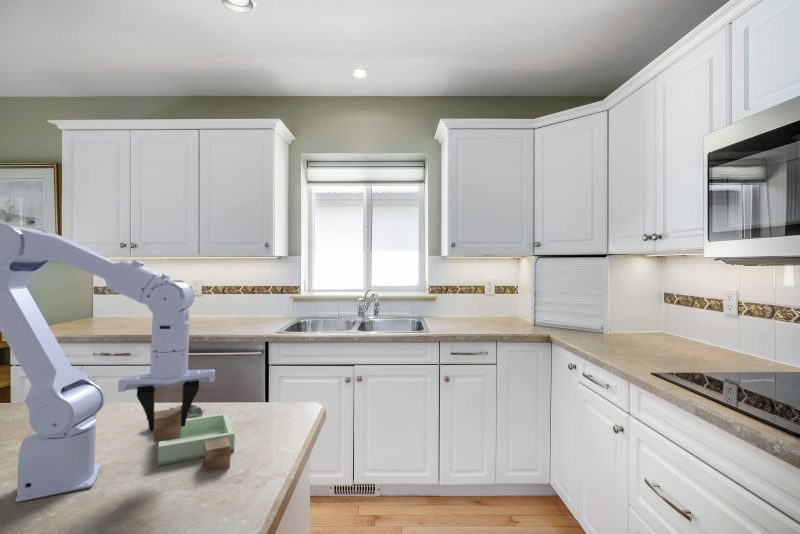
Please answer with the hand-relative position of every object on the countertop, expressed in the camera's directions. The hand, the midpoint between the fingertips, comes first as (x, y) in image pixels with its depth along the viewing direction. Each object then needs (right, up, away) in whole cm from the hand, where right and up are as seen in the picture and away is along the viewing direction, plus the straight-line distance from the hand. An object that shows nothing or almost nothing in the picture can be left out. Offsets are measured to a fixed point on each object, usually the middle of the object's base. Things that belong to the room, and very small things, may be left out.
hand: (167, 426), depth 69 cm
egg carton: (-11, -9, +22) cm, 27 cm away
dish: (-1, -9, +12) cm, 15 cm away
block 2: (+7, -9, +4) cm, 12 cm away
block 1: (0, -2, 0) cm, 2 cm away
